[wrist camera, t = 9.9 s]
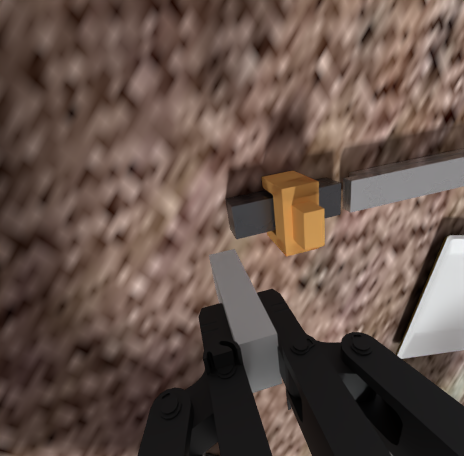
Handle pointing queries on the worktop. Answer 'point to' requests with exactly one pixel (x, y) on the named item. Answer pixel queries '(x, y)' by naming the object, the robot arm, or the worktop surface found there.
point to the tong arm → (403, 182)
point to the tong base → (262, 206)
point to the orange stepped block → (295, 212)
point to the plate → (439, 306)
